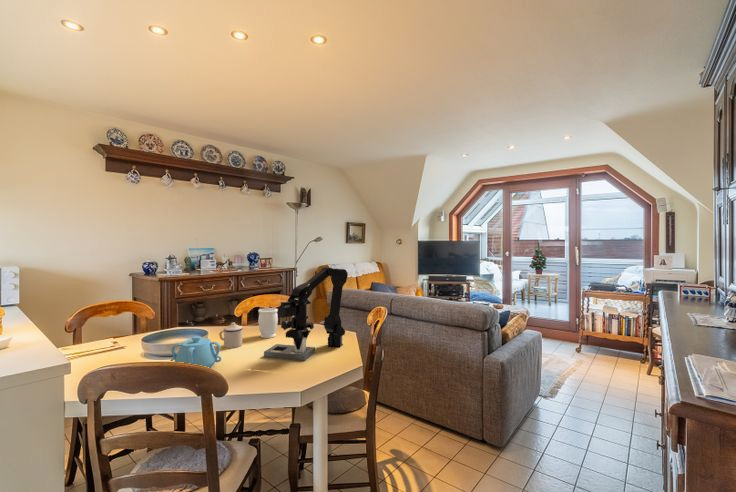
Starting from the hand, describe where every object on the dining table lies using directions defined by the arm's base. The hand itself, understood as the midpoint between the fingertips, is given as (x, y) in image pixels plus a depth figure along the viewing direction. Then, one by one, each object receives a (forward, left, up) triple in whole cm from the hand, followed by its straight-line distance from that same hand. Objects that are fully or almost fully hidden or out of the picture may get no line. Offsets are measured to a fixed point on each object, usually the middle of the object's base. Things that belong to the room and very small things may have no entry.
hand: (300, 348), depth 158 cm
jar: (+31, -27, -4) cm, 41 cm away
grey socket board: (+5, 0, -4) cm, 6 cm away
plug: (0, 0, -4) cm, 4 cm away
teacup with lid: (+41, -7, -4) cm, 42 cm away
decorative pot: (+35, +25, -4) cm, 43 cm away
